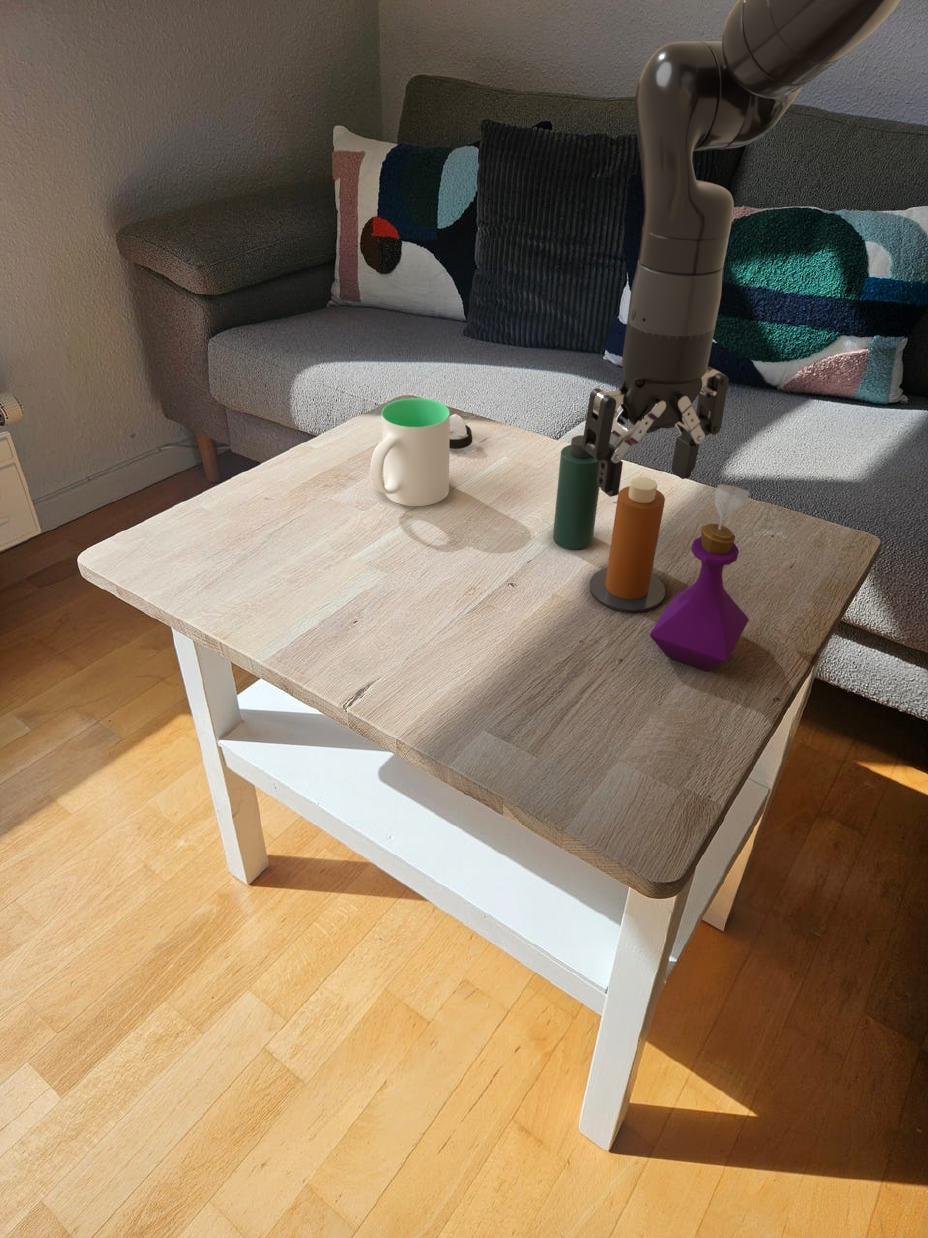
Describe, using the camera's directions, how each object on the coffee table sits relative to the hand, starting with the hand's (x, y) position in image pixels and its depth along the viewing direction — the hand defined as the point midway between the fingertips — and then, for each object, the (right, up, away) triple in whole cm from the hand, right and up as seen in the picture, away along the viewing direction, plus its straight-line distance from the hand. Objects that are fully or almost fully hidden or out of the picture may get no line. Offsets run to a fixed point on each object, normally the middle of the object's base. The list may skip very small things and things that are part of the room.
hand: (645, 483), depth 85 cm
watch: (-20, +11, +35) cm, 42 cm away
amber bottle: (0, -10, +8) cm, 13 cm away
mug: (-25, +2, +23) cm, 34 cm away
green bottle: (-5, -4, +16) cm, 17 cm away
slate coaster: (0, -10, +8) cm, 13 cm away
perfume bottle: (+5, -17, 0) cm, 17 cm away
